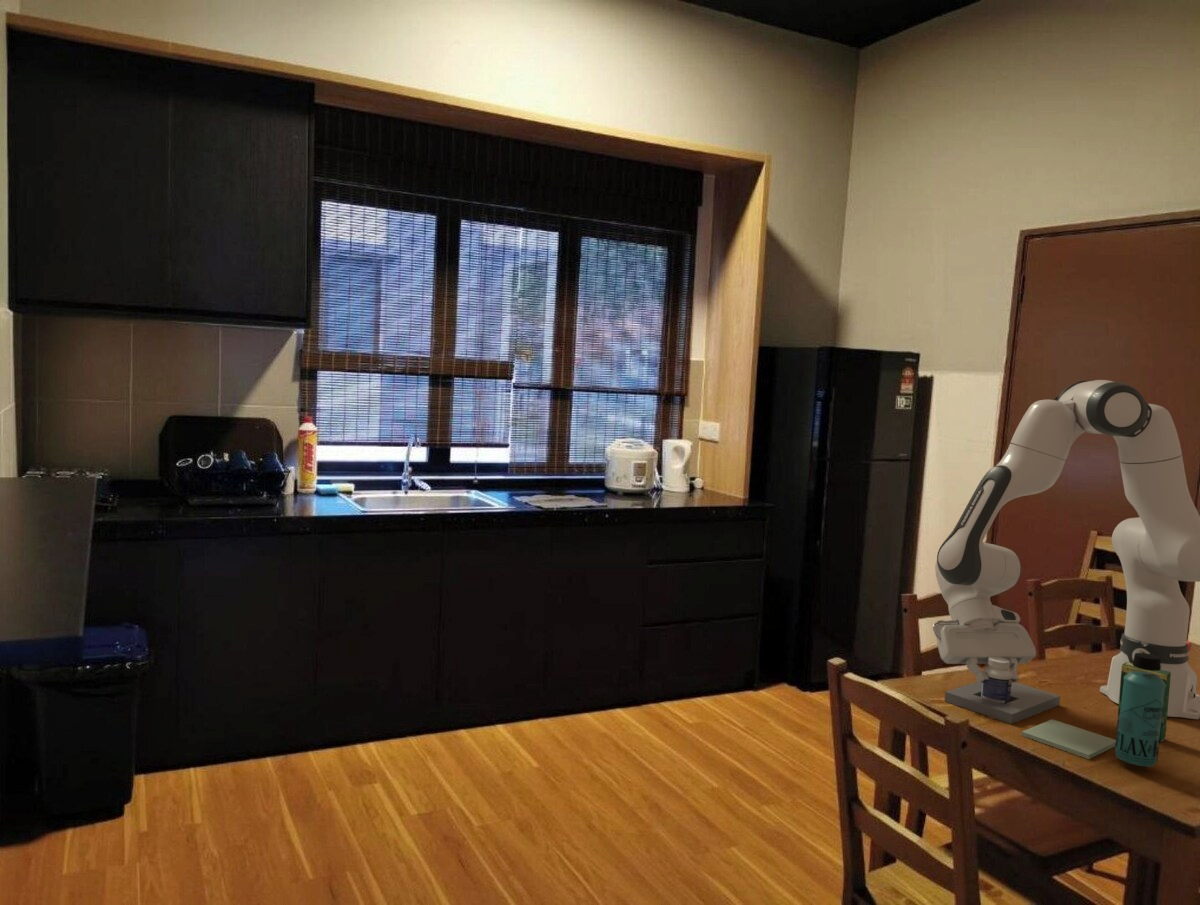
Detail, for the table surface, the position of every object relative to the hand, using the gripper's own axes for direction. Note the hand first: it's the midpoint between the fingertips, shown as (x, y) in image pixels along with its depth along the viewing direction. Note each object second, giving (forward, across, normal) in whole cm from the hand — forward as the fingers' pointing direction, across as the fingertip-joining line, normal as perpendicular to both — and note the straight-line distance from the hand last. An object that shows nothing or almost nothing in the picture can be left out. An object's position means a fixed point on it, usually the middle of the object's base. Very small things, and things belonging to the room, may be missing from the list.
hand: (999, 681), depth 181 cm
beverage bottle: (+24, +7, -16) cm, 30 cm away
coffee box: (+14, +20, -6) cm, 26 cm away
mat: (+16, +4, -8) cm, 18 cm away
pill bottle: (+4, 0, +4) cm, 6 cm away
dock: (+2, +3, +5) cm, 6 cm away
